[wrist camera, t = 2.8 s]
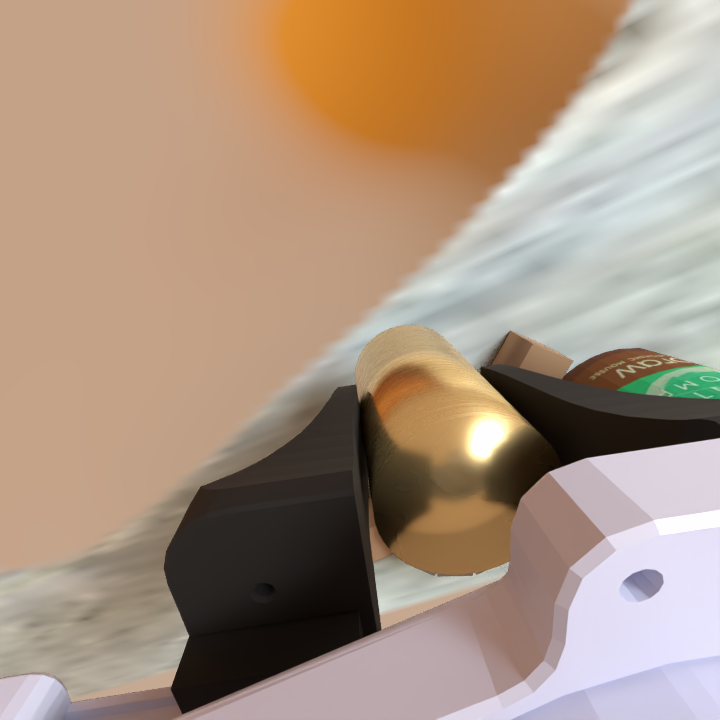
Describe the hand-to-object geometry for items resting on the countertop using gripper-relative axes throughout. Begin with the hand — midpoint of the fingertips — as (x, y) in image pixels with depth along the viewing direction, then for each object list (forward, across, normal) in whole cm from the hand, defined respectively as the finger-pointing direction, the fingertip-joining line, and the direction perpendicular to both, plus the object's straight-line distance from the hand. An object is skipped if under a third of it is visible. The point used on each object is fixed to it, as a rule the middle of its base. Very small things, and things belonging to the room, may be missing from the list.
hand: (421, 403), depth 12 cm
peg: (+2, 0, 0) cm, 2 cm away
